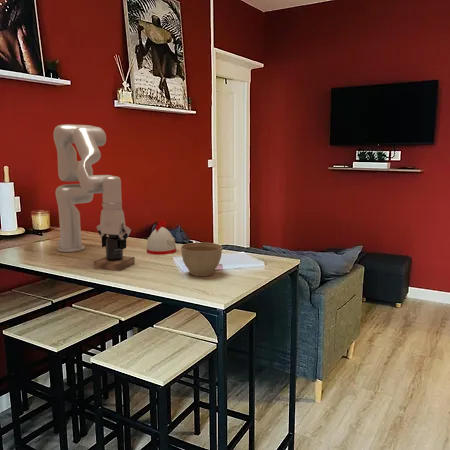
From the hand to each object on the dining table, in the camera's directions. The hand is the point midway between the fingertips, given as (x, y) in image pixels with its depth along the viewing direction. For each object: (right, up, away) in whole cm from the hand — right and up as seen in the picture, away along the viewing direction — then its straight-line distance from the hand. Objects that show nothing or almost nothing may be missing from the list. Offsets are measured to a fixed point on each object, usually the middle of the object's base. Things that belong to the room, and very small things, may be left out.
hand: (114, 247), depth 192 cm
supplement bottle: (0, -5, +1) cm, 5 cm away
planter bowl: (+37, -10, -10) cm, 40 cm away
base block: (0, -8, +1) cm, 8 cm away
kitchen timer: (+16, -4, +29) cm, 33 cm away
